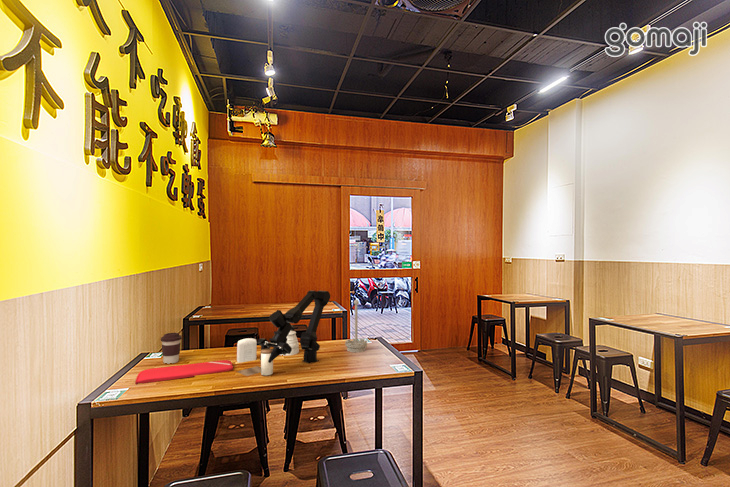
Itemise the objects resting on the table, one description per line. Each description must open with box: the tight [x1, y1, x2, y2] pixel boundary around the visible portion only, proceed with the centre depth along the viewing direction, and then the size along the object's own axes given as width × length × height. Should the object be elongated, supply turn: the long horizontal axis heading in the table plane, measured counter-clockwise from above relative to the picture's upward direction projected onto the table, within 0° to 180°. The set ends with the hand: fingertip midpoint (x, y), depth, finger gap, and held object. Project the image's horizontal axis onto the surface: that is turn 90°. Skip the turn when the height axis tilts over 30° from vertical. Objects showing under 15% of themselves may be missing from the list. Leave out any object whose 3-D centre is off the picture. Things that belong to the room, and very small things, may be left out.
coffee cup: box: [160, 332, 183, 365], centre depth 200 cm, size 10×10×15 cm
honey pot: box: [280, 331, 300, 357], centre depth 219 cm, size 13×13×18 cm
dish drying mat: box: [134, 359, 234, 385], centre depth 181 cm, size 16×41×4 cm, turn 114°
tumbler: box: [260, 347, 274, 376], centre depth 176 cm, size 6×6×11 cm
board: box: [235, 365, 261, 377], centre depth 182 cm, size 12×10×1 cm
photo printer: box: [236, 337, 258, 363], centre depth 200 cm, size 10×4×12 cm, turn 123°
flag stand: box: [344, 299, 368, 353], centre depth 225 cm, size 13×13×30 cm
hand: (264, 361), depth 175 cm, fingers closed on tumbler, 5 cm apart
